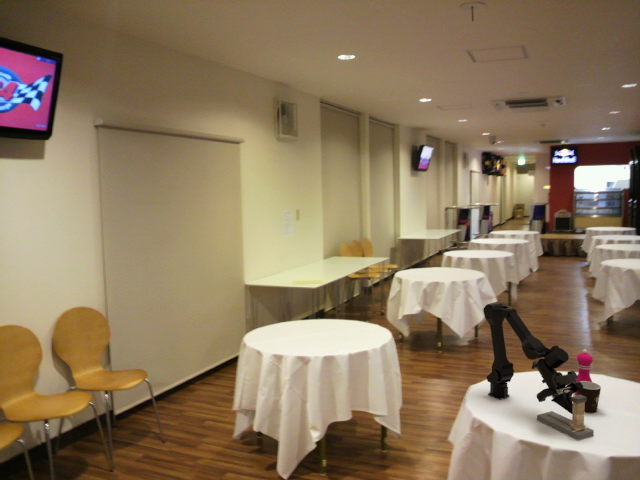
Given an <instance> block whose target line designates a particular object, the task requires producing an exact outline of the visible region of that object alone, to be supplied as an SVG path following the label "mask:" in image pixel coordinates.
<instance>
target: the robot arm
mask: <svg viewBox="0 0 640 480" xmlns="http://www.w3.org/2000/svg"><path fill="white" fill-rule="evenodd" d="M483 314H484V318H485V320H486V322H487V323H488V324H489V327H490V328H489V329H490V335H491V342H492V349H493V356H494V359H493V362H492V365H491V372H490V373H489V374H488V375H486V382H487V383H489V384H490V386H489V389H490V391H489V393H487V396H490V397H492V398H495V399H497V400H503V399H506V398H508V397H510V394H509V386H508V383H510V382H512V381H511V380H512V379H513V377H514V373H515V370H514V363H513V362H510V360H509V359H508V358H507V357H508V356H507V348H506V341H505V334H504V327H503V323H504V321H505V320H506V321H507V323H508V324H509V326H510V327H511V329H512V330H513V332H514V333H515V335H516V336H517V337H518V339H519V340H520V343H521V350H522V351H523V353H524V355H525V357H526V358H527V359H528V360H532V366H531V369H532V370H534V369H535V370H536V369H537V371H538V373H539V374H540V376H541V378H542V380H541V383H542V384H546V386H547V388H543V389H542V390H541V391H539V392H538V393H536V399H537V400H538V402H539V403H542V402H545V401H546V399H547V398H549V397H551V398H552V399H550V401H551V402H554V403H555V404H557V405H558V406H560V407H561V408H563V409H564V410H565V411H566V412H568V413H569V414H571V415H572V412H573V402H572V401H571V397H573V395H574V394H575V392H577V391H578V390H580V389H581V388H583V385H582V383H581V382H579V381H576V379H578V376H577V375H578V373H577V372H575V370H570V371H567V374H563V373H562V372H560V371H557V369H558V368H560V367H561V366H562V365H564V364H565V363H566V362H568V361H569V357H570V356H569V354H568V351H566V350H565V349H564V348H561V347H559V346H558V345H553V346H552V347H550V348H548V347H547V346H545V344H543V342H542V341H541V340H540V339H538V338H537V337H535V336H534V335H533V334H532V332H531V331H530V330H529V328H528V327H527V326H526V324H525V323H524V321H523V320H522V318H521V317H520V315H519V314H518V311H517V309H516V308H514V307H510V306H508V305H503V304H502V303H501V302H494V303H487V304H486V305H484V307H483ZM537 359H538V360H537ZM533 360H534V361H533Z"/></svg>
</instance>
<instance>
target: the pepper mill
mask: <svg viewBox="0 0 640 480" xmlns="http://www.w3.org/2000/svg"><path fill="white" fill-rule="evenodd" d="M576 361H577V362H578V363H577V368H578V372H577V376H578V379H576V381H579V382H580V381H588V382H593V381H592V378H591V373H590V370H591V369H592V365H591V364H592V363H593V362H594V360H593V356H592V354H590V353H588V349H583V350H582V352H580V353H577V355H576ZM574 394H575V395H574V396H577V395H578V394H577V392H575V393H574Z"/></svg>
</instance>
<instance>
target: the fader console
mask: <svg viewBox="0 0 640 480" xmlns="http://www.w3.org/2000/svg"><path fill="white" fill-rule="evenodd" d="M536 421H538V422H539V423H542V424H544V425H546V426H547V427H550V428H552V429H554V430H556V431H558V432H560V433H562V434H564V435H566V436H568V437H570V438H572V439H574V440H576V441H580V440H584V439H587V438H590V437H594V435H595V434H594V433H595V432H594V431H595V430H594V429H592V428H590V427H588V426H585V429H582V430H579V431H577V430H575V429H573V428H571V427H570V425H571V424H572V419H570V418H568V417H566V416H563V415H561V413H560V414H559V413H558V412H555V411H553V410H550V411H547V412H543V413H540V414H539V413H538V414H537V415H536Z"/></svg>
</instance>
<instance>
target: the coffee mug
mask: <svg viewBox="0 0 640 480" xmlns="http://www.w3.org/2000/svg"><path fill="white" fill-rule="evenodd" d="M580 382H581V383H582V385H583V388H581V389H580V390H578V391H577V394H578V395H583V396H585V397H587V402H585V409H584V413H586V414H587V413H589V414H594V413H597V412H598V411H597V410H598V407H599V401H600V394H601V391H602V389H601V388H602V386H601V385H600V384H598V383H596V382H593V381H592V382H588V381H580Z"/></svg>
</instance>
